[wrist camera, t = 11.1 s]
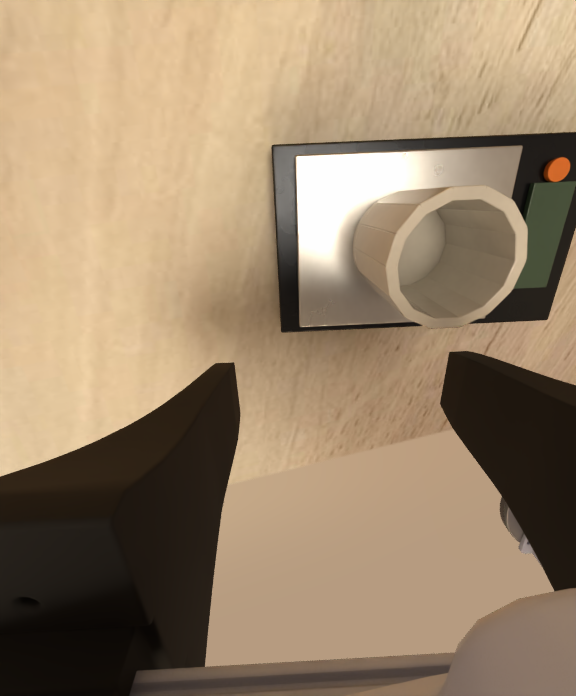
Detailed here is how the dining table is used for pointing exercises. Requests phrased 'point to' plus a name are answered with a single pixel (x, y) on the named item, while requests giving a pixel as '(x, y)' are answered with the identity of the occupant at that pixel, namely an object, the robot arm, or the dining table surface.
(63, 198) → the dining table surface
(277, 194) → the scale
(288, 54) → the dining table surface
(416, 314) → the pot
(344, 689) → the robot arm
